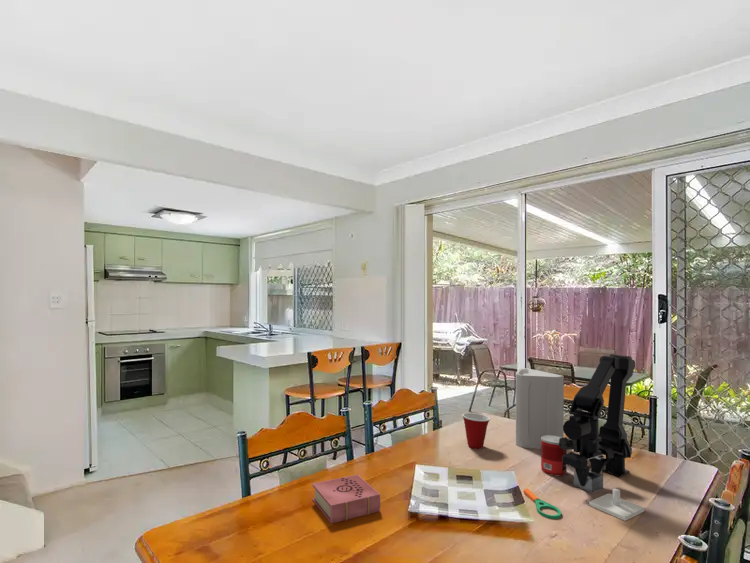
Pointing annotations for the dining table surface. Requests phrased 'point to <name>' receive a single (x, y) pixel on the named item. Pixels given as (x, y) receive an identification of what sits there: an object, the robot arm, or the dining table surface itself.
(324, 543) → the dining table surface
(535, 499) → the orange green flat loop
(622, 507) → the post block
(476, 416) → the plastic cup
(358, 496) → the book
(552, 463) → the canned food
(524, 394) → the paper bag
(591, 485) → the square hole block
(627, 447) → the robot arm
